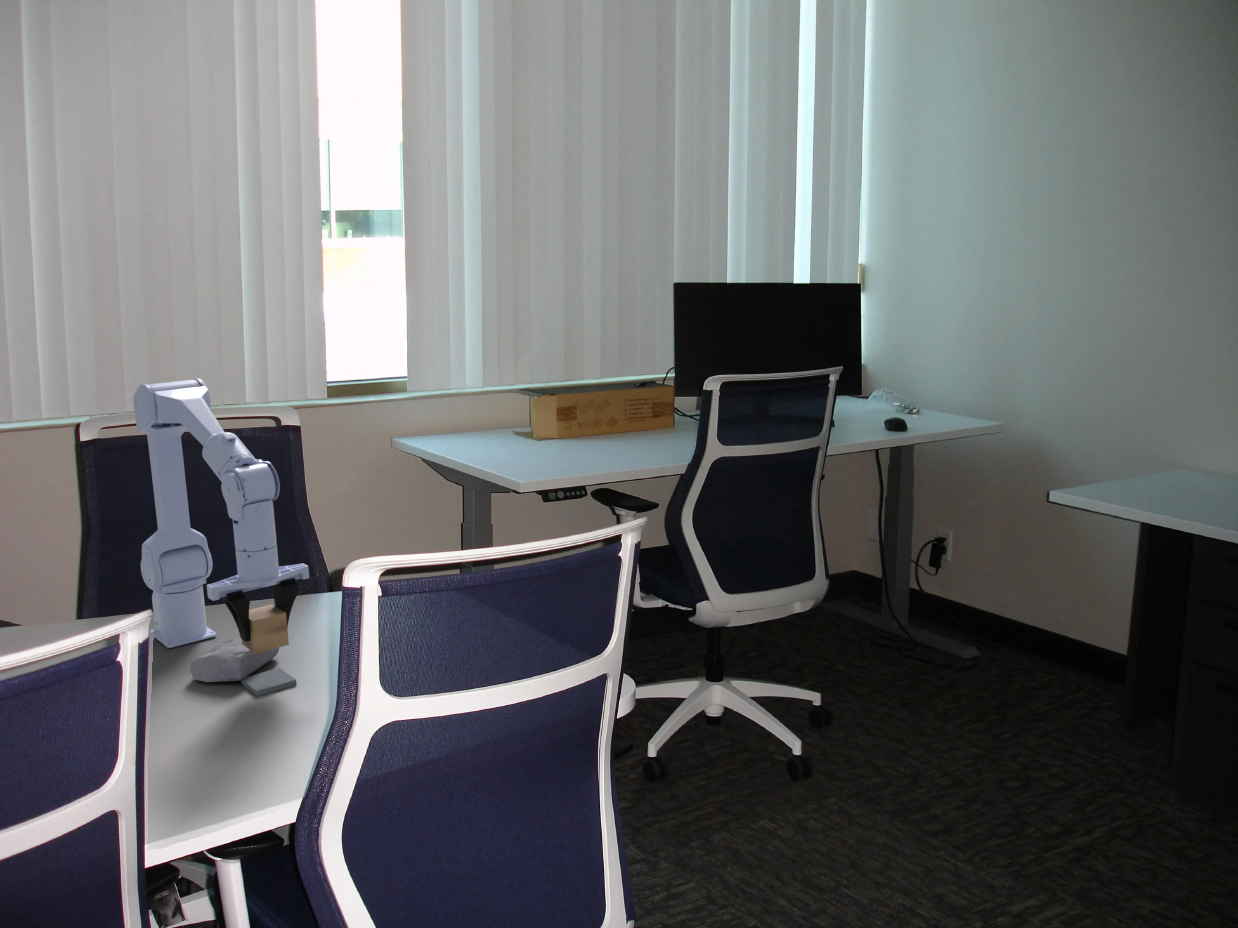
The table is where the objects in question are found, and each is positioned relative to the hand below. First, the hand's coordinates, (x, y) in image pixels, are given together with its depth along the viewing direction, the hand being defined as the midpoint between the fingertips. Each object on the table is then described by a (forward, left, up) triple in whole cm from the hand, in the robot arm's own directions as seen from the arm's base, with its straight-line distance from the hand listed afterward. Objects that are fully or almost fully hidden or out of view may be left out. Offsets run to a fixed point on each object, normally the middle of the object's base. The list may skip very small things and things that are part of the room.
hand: (264, 634), depth 155 cm
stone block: (-9, -2, -8) cm, 12 cm away
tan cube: (0, 0, -2) cm, 2 cm away
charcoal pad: (0, 0, -8) cm, 8 cm away
